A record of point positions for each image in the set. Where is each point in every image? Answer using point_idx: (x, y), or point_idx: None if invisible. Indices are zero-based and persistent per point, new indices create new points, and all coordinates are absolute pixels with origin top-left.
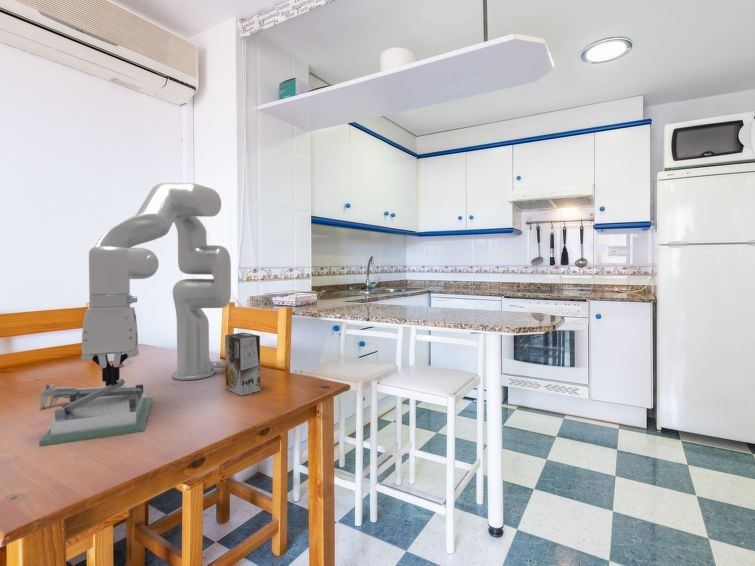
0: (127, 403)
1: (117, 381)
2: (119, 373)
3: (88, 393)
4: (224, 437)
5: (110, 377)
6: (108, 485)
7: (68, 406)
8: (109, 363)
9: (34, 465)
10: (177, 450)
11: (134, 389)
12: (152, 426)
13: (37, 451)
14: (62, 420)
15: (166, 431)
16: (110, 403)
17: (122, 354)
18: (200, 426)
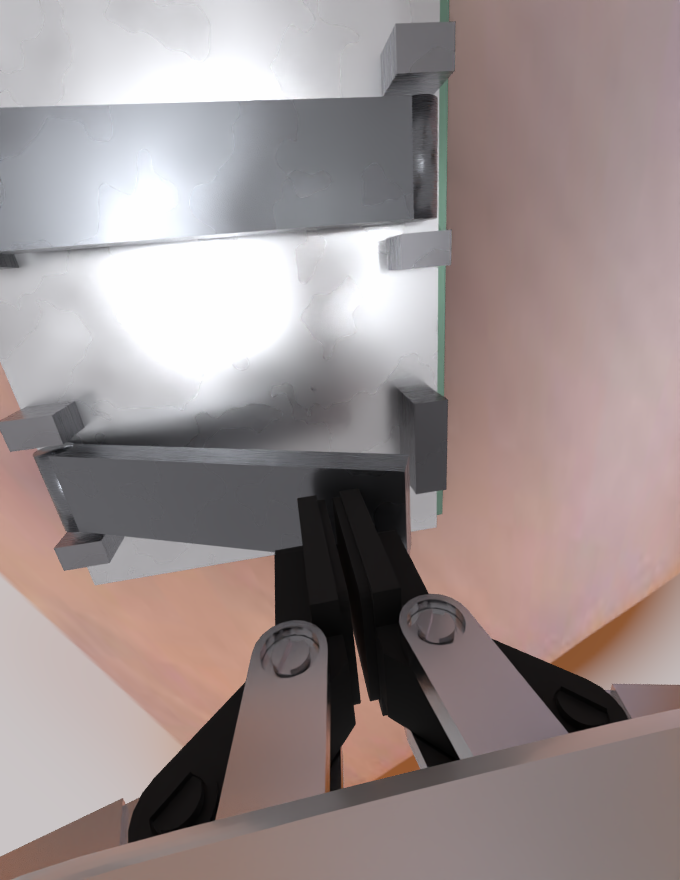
0: (376, 389)
1: (365, 491)
2: (408, 556)
3: (69, 245)
4: (647, 594)
5: (353, 629)
6: (400, 754)
7: (105, 532)
8: (346, 672)
9: (184, 672)
10: (529, 644)
11: (397, 182)
12: (462, 465)
13: (128, 594)
14: (139, 571)
15: (507, 521)
16: (277, 358)
17: (549, 719)
18: (610, 504)
